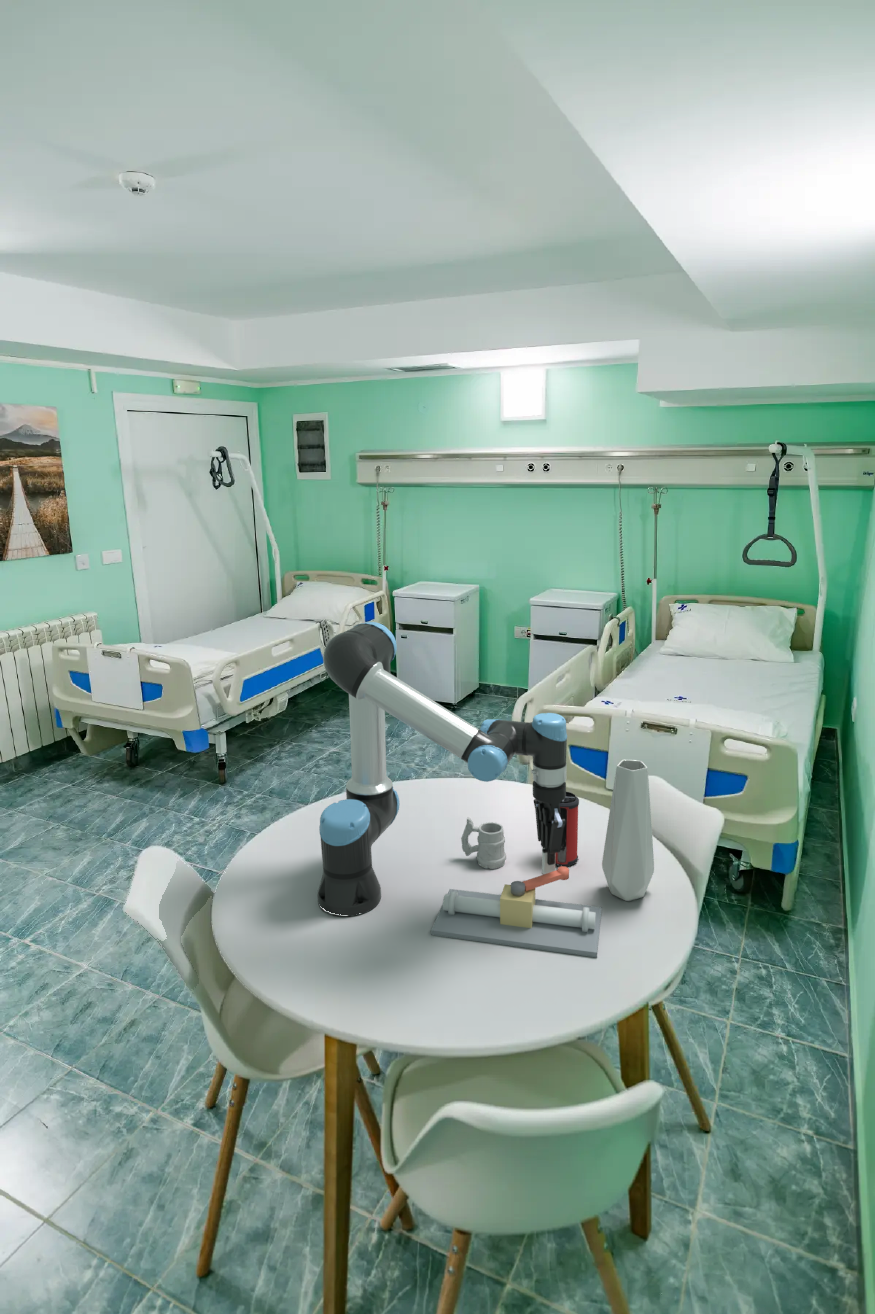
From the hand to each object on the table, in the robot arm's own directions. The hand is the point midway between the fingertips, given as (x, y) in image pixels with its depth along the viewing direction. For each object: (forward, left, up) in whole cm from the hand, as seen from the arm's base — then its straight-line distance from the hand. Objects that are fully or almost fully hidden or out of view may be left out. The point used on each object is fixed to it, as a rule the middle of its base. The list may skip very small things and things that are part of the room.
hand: (548, 874), depth 177 cm
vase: (+17, +8, -7) cm, 20 cm away
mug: (-19, +15, -7) cm, 25 cm away
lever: (-1, -6, +1) cm, 7 cm away
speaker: (+1, +20, -7) cm, 21 cm away
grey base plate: (-6, -10, -7) cm, 14 cm away
